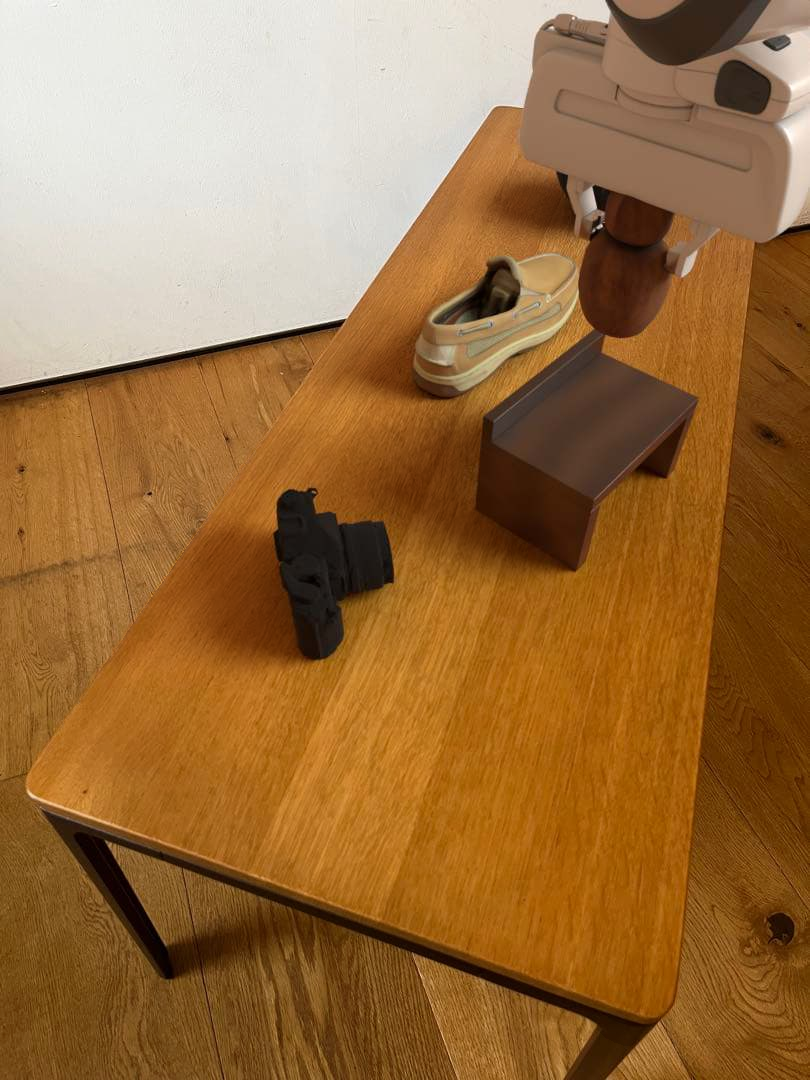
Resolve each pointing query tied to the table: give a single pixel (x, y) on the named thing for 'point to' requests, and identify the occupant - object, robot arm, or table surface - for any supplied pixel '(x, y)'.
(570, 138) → the robot arm
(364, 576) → the film camera
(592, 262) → the wooden figurine
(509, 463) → the display shelf
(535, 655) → the table surface
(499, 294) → the boat shoe
